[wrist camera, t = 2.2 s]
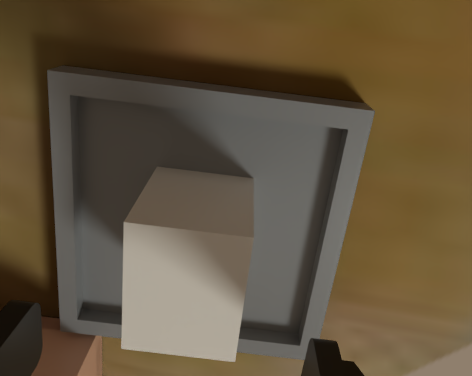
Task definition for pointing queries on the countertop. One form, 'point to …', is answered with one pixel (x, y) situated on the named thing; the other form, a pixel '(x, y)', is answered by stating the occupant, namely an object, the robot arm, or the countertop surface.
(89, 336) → the bin
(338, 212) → the tray
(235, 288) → the cream rectangular block
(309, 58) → the countertop surface
